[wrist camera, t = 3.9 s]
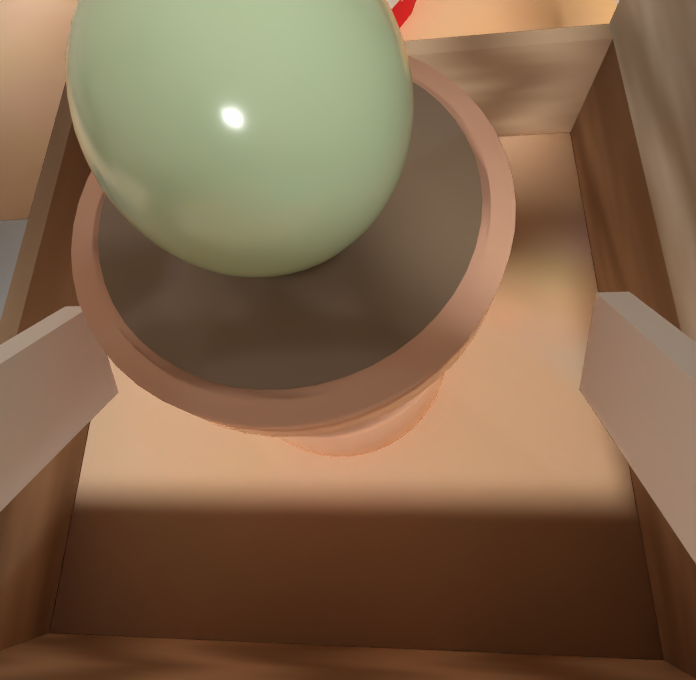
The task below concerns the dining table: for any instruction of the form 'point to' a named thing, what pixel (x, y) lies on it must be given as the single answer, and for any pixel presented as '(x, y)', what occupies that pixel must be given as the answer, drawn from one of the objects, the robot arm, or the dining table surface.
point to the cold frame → (612, 276)
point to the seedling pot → (281, 213)
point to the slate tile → (9, 253)
